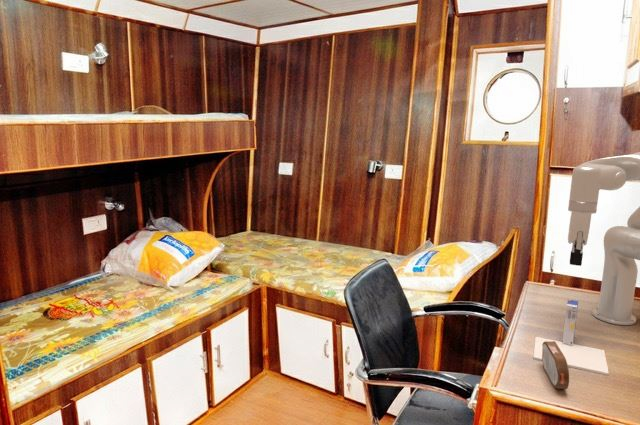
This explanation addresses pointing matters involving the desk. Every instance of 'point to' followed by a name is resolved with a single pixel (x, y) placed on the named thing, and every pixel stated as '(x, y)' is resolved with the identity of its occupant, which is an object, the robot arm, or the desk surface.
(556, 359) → the tin
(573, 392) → the desk surface
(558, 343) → the mat
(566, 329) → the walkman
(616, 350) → the desk surface
